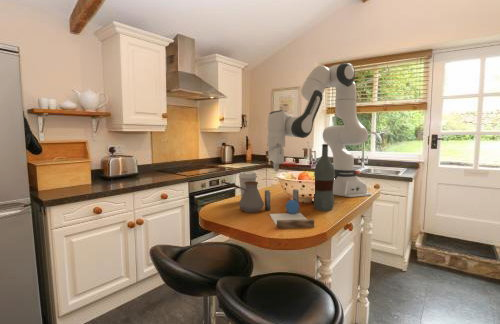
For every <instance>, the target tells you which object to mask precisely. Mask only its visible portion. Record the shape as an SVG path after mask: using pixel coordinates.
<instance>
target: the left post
mask: <svg viewBox="0 0 500 324" xmlns="http://www.w3.org/2000/svg"><path fill="white" fill-rule="evenodd" d="M271 192H272V191H271V190H268V189H265V190H264V211H267V212H269V211H271V195H272V194H271Z"/></svg>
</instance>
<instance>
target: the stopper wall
mask: <svg viewBox="0 0 500 324" xmlns="http://www.w3.org/2000/svg"><path fill="white" fill-rule="evenodd" d="M276 228H277V229H279V230H280V229H296V228H297V229H298V228H299V229H301V228H302V229H303V228H315V220H314V219H313V218H306V219H300V220H277V225H276Z"/></svg>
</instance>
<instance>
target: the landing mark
mask: <svg viewBox="0 0 500 324" xmlns="http://www.w3.org/2000/svg"><path fill="white" fill-rule="evenodd" d="M269 216H270V218H271V219H272V221H273V223H274V225H275V226H277V220H300V219H307V217H305V215H303V214H302V212H297V213H295V214H291V213H289V212H287V213H269Z"/></svg>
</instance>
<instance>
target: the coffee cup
mask: <svg viewBox="0 0 500 324" xmlns="http://www.w3.org/2000/svg"><path fill="white" fill-rule="evenodd" d="M257 178H258V175H257V172H254V171H241V172H239V174H238V179H239V187H242V188H246V185H245V184H244V183H245V182H249V181H253V182H257ZM243 193H244V190H242V189H240V198H241V197H242V195H243Z"/></svg>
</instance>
